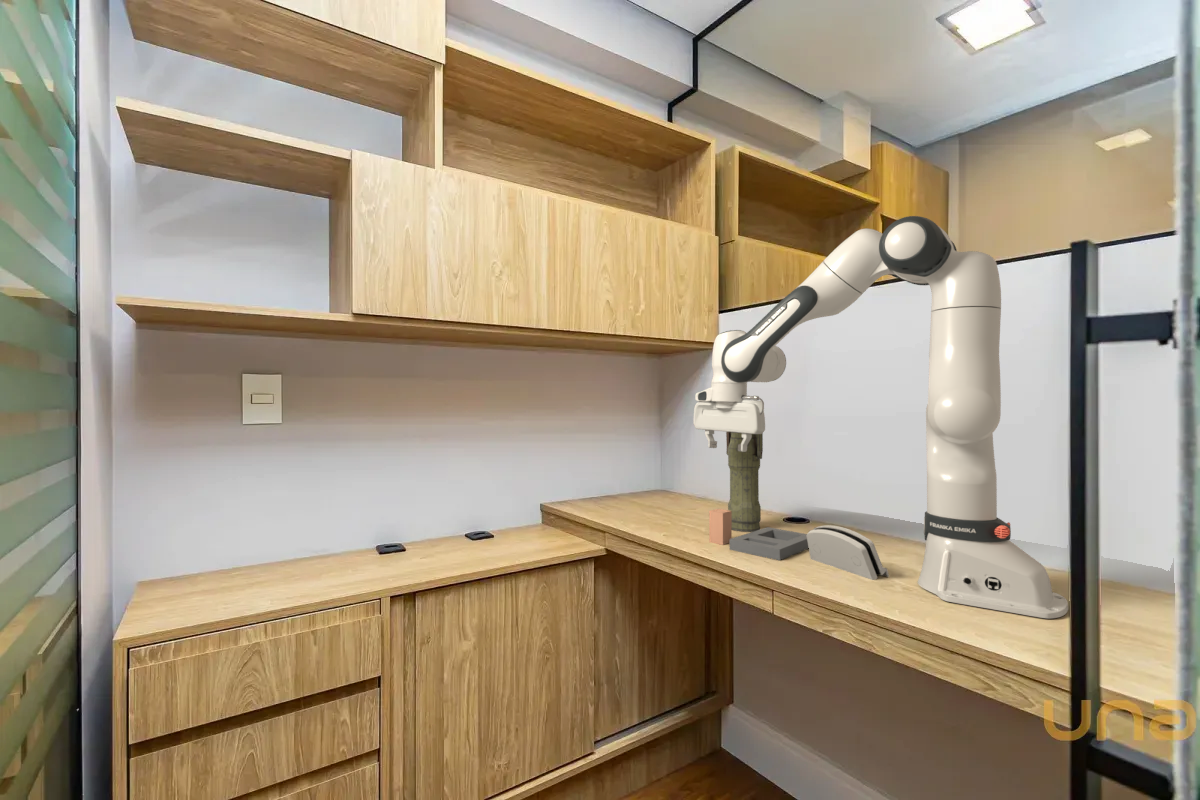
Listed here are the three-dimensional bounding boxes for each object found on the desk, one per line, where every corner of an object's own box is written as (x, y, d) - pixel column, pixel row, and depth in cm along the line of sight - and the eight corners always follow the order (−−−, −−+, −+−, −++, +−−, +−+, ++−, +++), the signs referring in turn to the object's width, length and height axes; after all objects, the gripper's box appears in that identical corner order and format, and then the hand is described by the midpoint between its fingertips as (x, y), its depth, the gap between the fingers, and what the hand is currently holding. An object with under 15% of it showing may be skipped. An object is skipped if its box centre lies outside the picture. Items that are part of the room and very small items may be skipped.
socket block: (815, 545, 136) (815, 535, 136) (779, 560, 123) (779, 549, 123) (767, 536, 145) (767, 527, 145) (729, 549, 132) (729, 539, 132)
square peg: (731, 542, 139) (731, 510, 139) (722, 545, 136) (722, 513, 136) (718, 539, 142) (718, 508, 142) (709, 542, 139) (709, 510, 139)
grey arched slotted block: (890, 576, 111) (879, 532, 110) (875, 587, 109) (863, 542, 108) (825, 556, 126) (814, 516, 125) (811, 565, 125) (800, 525, 123)
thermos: (735, 522, 162) (735, 404, 162) (771, 529, 153) (770, 404, 153) (717, 527, 156) (717, 404, 156) (753, 534, 147) (753, 405, 148)
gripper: (771, 396, 132) (769, 453, 132) (706, 394, 148) (704, 445, 148) (755, 395, 128) (753, 454, 128) (690, 394, 144) (688, 446, 144)
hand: (727, 449), depth 138 cm, fingers open, 8 cm apart
